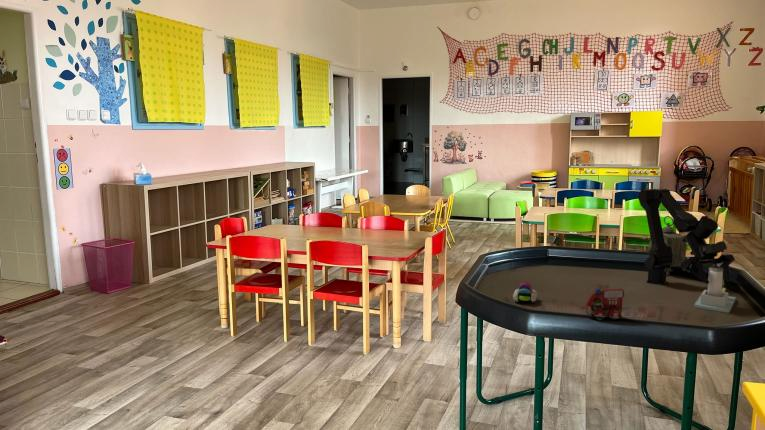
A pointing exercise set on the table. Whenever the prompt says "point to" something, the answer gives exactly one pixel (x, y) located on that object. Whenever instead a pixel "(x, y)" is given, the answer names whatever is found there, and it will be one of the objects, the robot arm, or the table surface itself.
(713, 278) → the white cylinder
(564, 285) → the table surface
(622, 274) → the table surface
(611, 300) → the toy fire truck
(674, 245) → the tabletop clock
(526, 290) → the multicoloured small toy
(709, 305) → the fitting board
